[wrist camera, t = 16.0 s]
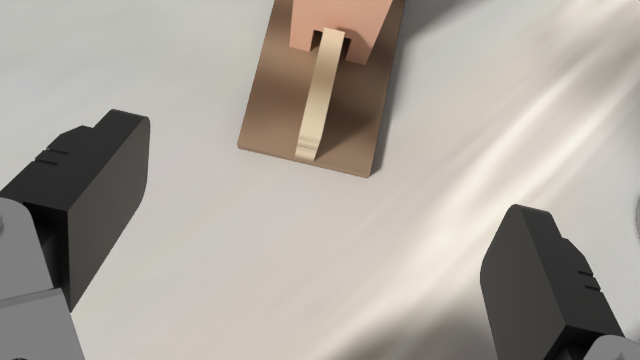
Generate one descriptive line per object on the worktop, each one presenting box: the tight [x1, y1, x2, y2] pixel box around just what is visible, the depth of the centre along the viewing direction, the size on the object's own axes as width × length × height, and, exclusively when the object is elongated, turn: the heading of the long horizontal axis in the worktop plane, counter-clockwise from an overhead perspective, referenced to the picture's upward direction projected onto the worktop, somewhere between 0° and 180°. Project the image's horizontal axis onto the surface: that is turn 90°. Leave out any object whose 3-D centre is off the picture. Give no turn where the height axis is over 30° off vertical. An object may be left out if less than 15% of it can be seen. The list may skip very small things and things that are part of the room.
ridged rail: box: [237, 0, 405, 178], centre depth 41 cm, size 20×10×7 cm, turn 168°
